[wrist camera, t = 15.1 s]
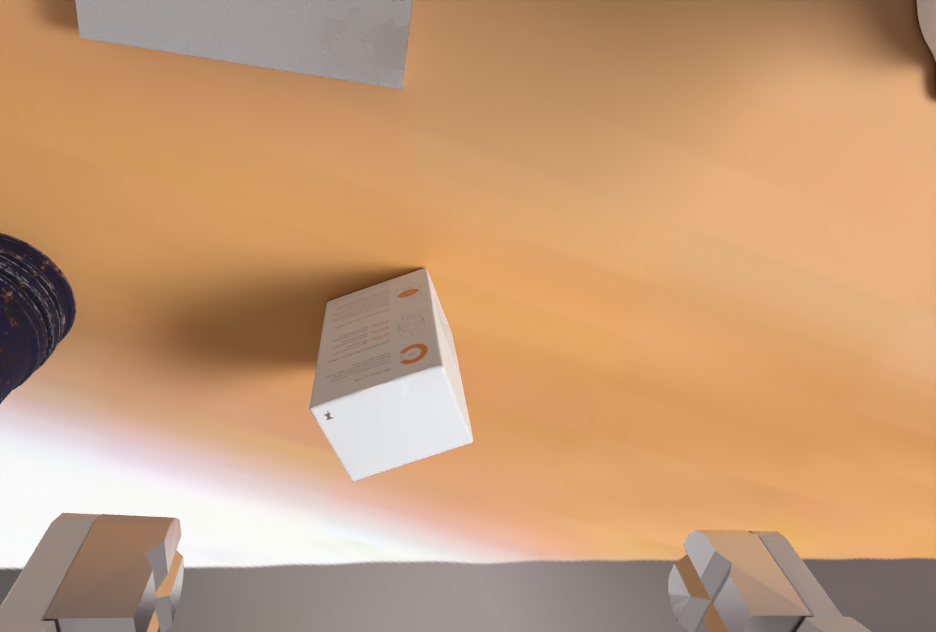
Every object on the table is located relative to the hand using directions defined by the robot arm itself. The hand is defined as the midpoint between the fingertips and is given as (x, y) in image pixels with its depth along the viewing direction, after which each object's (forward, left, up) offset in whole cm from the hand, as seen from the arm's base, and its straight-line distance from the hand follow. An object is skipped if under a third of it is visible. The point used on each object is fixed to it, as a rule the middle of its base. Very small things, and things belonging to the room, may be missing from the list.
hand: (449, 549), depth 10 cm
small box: (-1, +15, -34) cm, 37 cm away
